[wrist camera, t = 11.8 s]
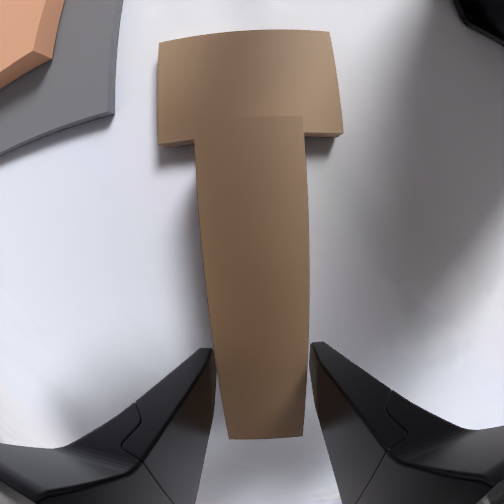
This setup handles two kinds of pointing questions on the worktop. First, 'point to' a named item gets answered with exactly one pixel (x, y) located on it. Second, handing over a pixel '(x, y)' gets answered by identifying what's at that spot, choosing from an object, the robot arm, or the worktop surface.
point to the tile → (26, 35)
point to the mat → (66, 77)
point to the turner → (253, 204)
